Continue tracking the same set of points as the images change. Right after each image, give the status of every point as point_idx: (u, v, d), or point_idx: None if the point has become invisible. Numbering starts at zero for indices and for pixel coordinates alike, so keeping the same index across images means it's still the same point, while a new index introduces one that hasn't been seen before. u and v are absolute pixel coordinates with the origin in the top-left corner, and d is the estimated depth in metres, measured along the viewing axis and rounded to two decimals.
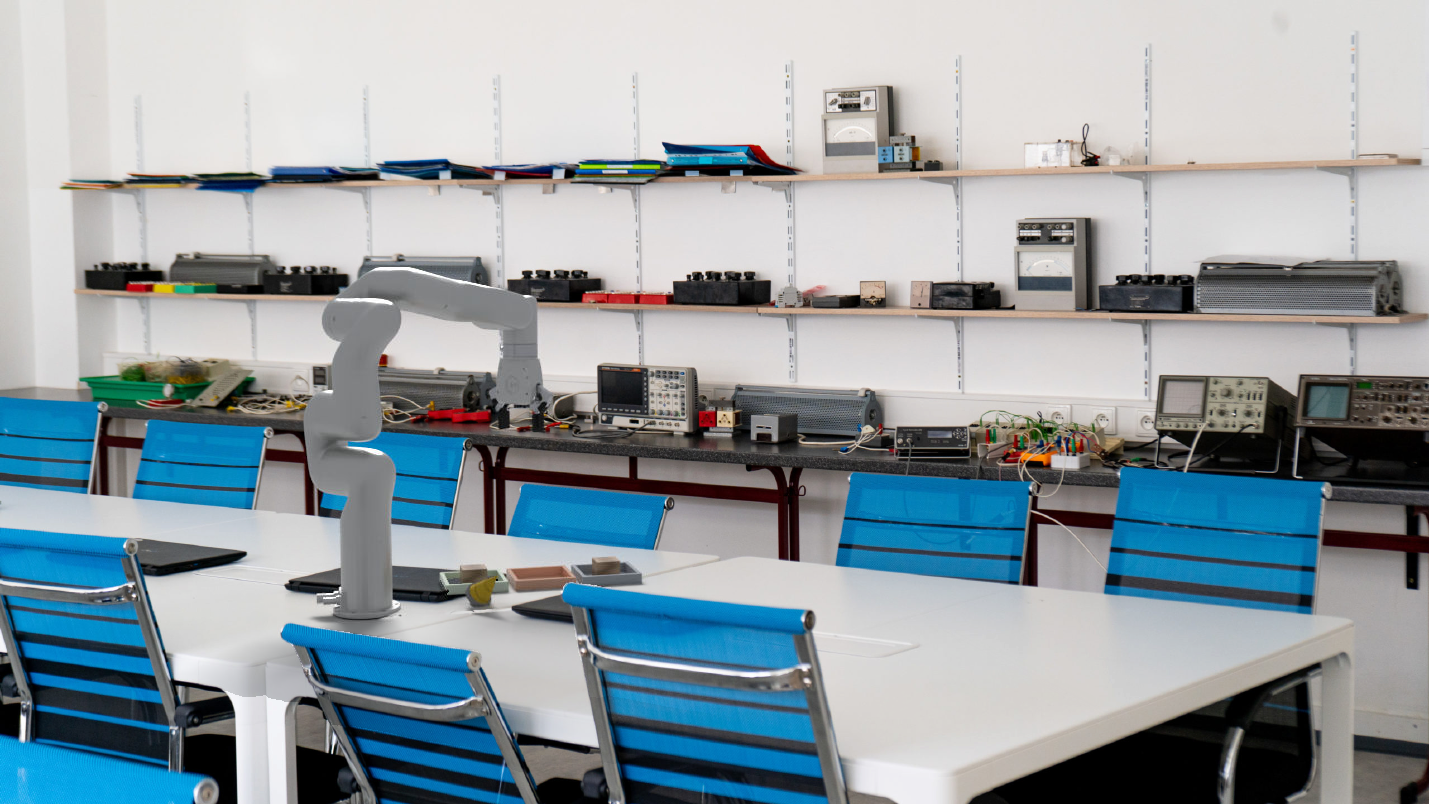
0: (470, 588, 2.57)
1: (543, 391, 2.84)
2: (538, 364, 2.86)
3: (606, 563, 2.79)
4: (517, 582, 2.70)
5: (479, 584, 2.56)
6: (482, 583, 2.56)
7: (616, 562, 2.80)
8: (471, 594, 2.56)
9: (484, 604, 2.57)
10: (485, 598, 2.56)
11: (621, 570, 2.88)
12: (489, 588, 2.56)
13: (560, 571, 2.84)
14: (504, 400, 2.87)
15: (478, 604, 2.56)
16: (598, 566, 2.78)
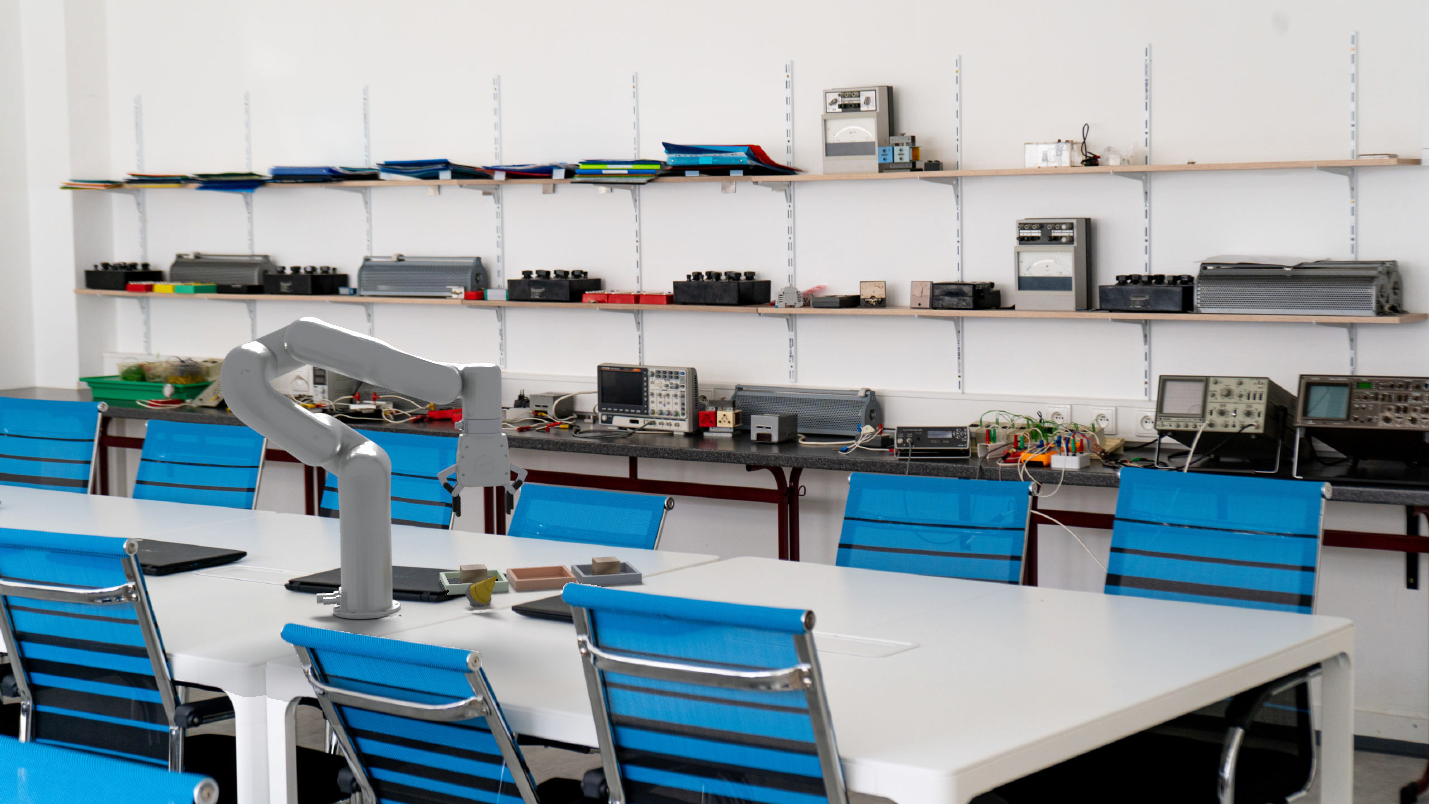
0: (470, 588, 2.57)
1: (518, 468, 2.58)
2: None
3: (606, 563, 2.79)
4: (517, 582, 2.70)
5: (479, 584, 2.56)
6: (482, 583, 2.56)
7: (616, 562, 2.80)
8: (471, 594, 2.56)
9: (484, 604, 2.57)
10: (485, 598, 2.56)
11: (621, 570, 2.88)
12: (489, 588, 2.56)
13: (560, 571, 2.84)
14: (473, 483, 2.53)
15: (478, 604, 2.56)
16: (598, 566, 2.78)
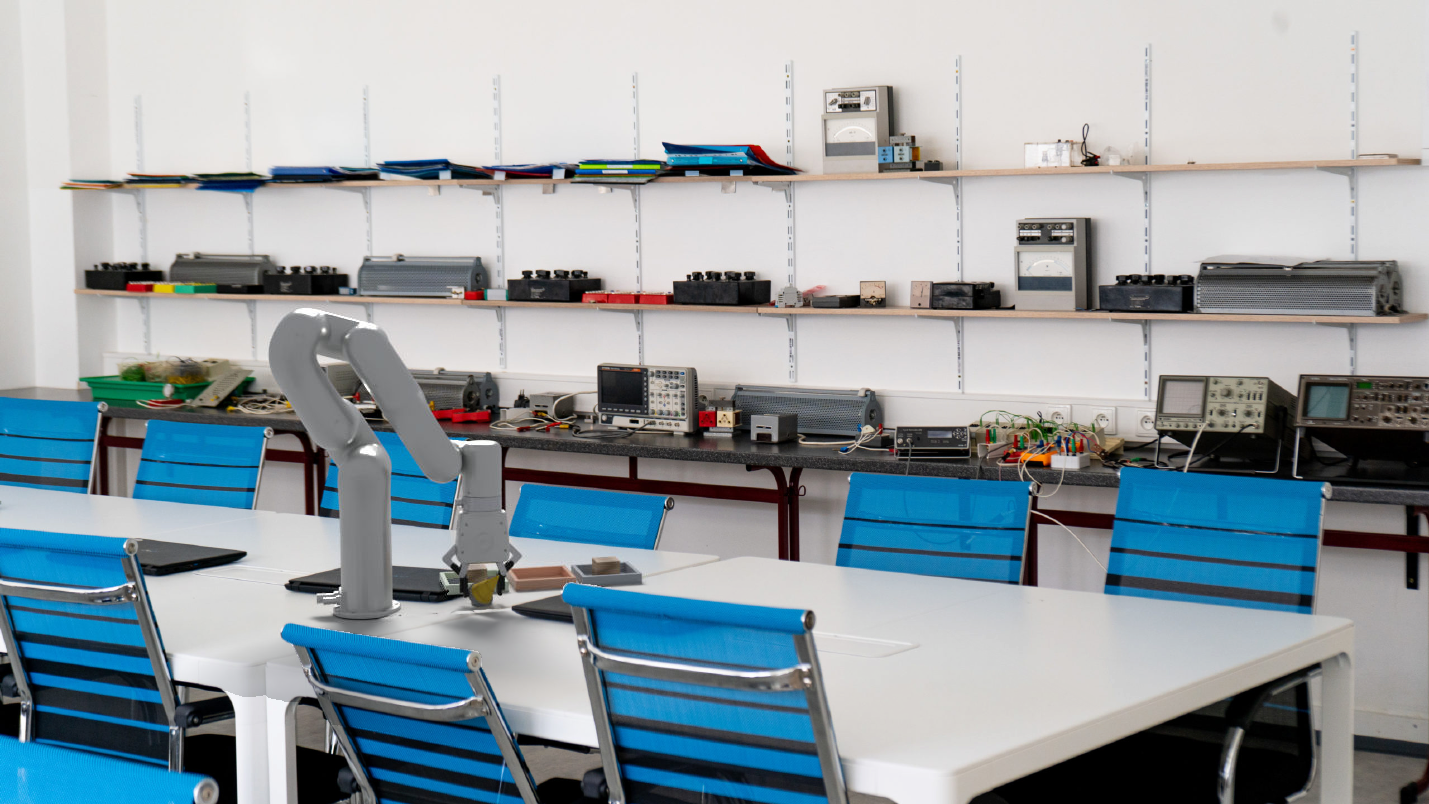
0: (472, 588, 2.57)
1: (514, 550, 2.59)
2: None
3: (606, 563, 2.79)
4: (517, 582, 2.70)
5: (481, 584, 2.56)
6: (484, 583, 2.56)
7: (616, 562, 2.80)
8: (473, 594, 2.56)
9: (486, 604, 2.57)
10: (487, 598, 2.56)
11: (621, 570, 2.88)
12: (490, 588, 2.56)
13: (560, 571, 2.84)
14: (473, 561, 2.54)
15: (480, 604, 2.56)
16: (598, 566, 2.78)
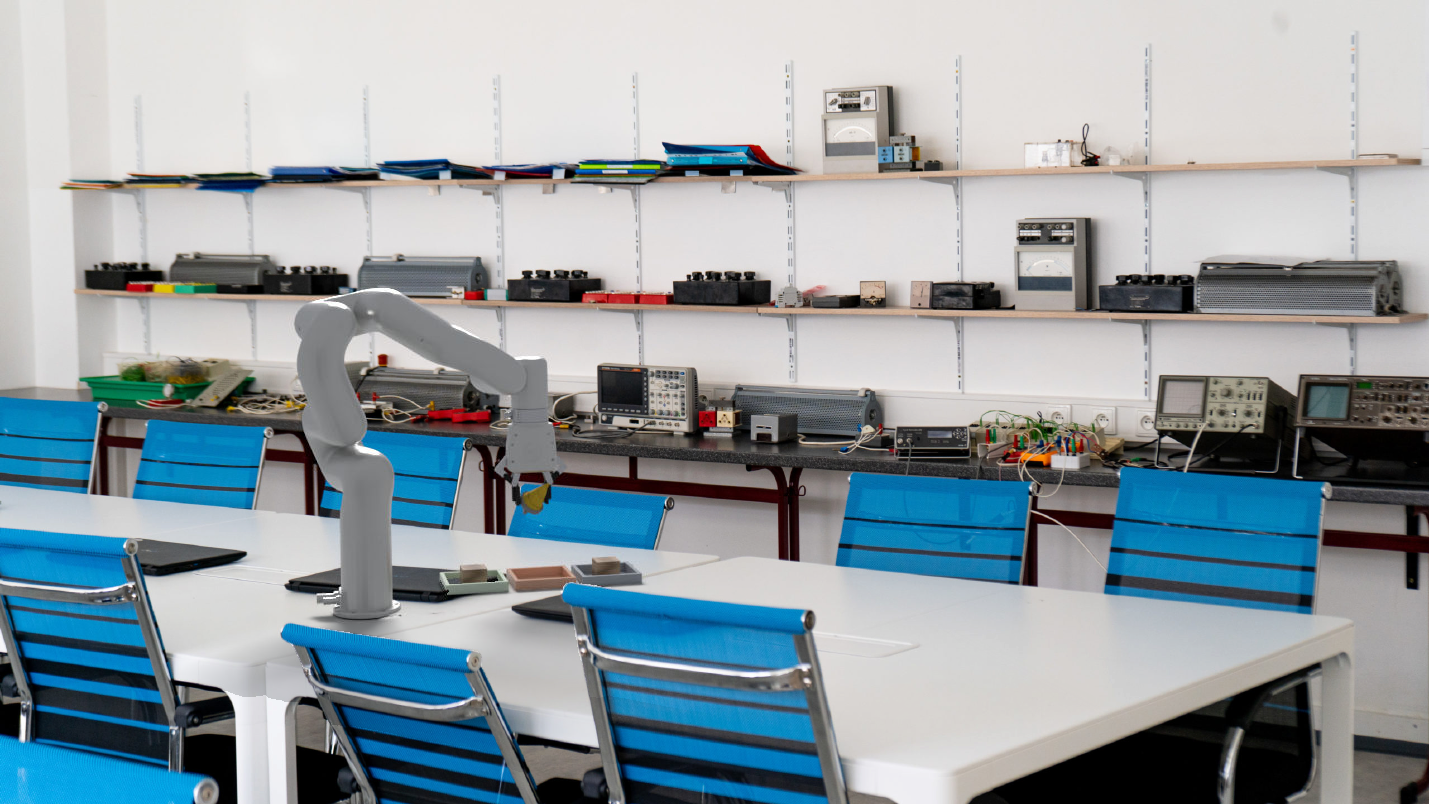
0: (523, 496, 2.72)
1: (560, 461, 2.73)
2: None
3: (606, 563, 2.79)
4: (517, 582, 2.70)
5: (532, 491, 2.71)
6: (535, 490, 2.71)
7: (616, 562, 2.80)
8: (524, 501, 2.71)
9: (537, 510, 2.72)
10: (538, 505, 2.71)
11: (621, 570, 2.88)
12: (541, 495, 2.70)
13: (560, 571, 2.84)
14: (522, 470, 2.69)
15: (531, 510, 2.71)
16: (598, 566, 2.78)
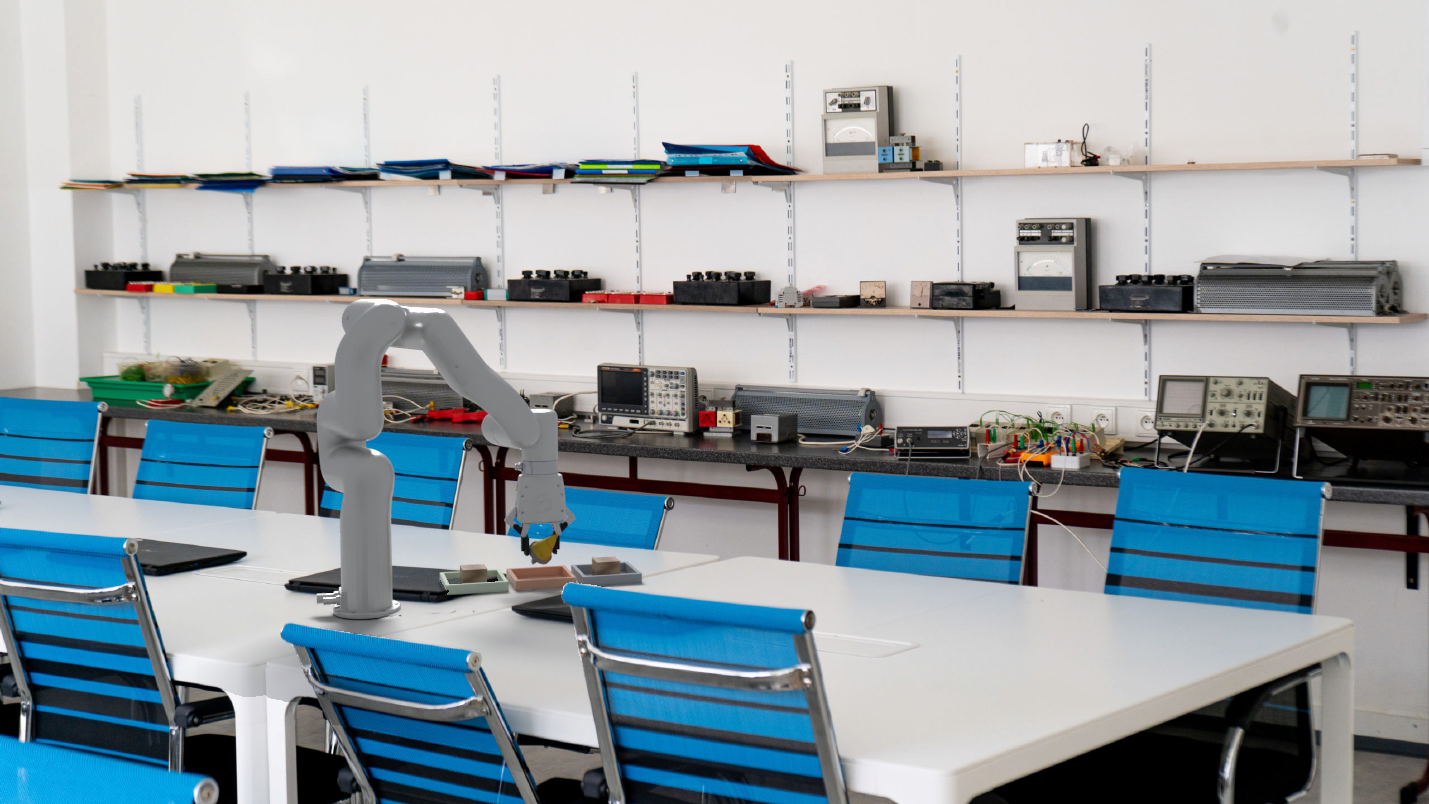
0: (532, 546, 2.76)
1: (569, 512, 2.78)
2: None
3: (606, 563, 2.79)
4: (517, 582, 2.70)
5: (541, 542, 2.75)
6: (544, 541, 2.75)
7: (616, 562, 2.80)
8: (533, 551, 2.75)
9: (545, 561, 2.76)
10: (546, 555, 2.76)
11: (621, 570, 2.88)
12: (550, 546, 2.75)
13: (560, 571, 2.84)
14: (532, 520, 2.73)
15: (540, 560, 2.75)
16: (598, 566, 2.78)
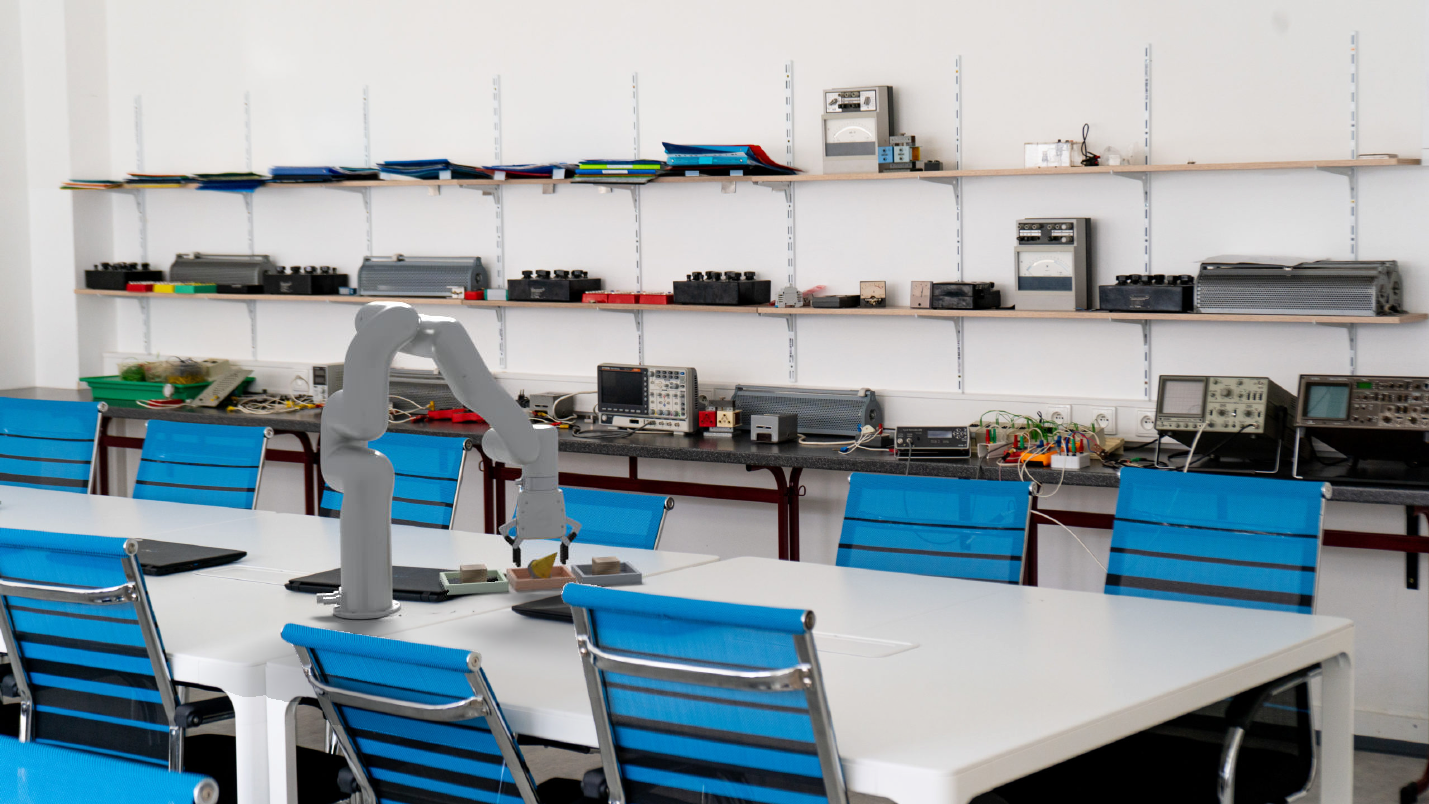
0: (532, 564, 2.76)
1: (573, 521, 2.78)
2: None
3: (606, 563, 2.79)
4: (517, 582, 2.70)
5: (540, 560, 2.76)
6: (543, 559, 2.75)
7: (616, 562, 2.80)
8: (533, 570, 2.75)
9: None
10: (546, 573, 2.76)
11: (621, 570, 2.88)
12: (549, 564, 2.75)
13: (560, 571, 2.84)
14: (532, 536, 2.73)
15: None
16: (598, 566, 2.78)
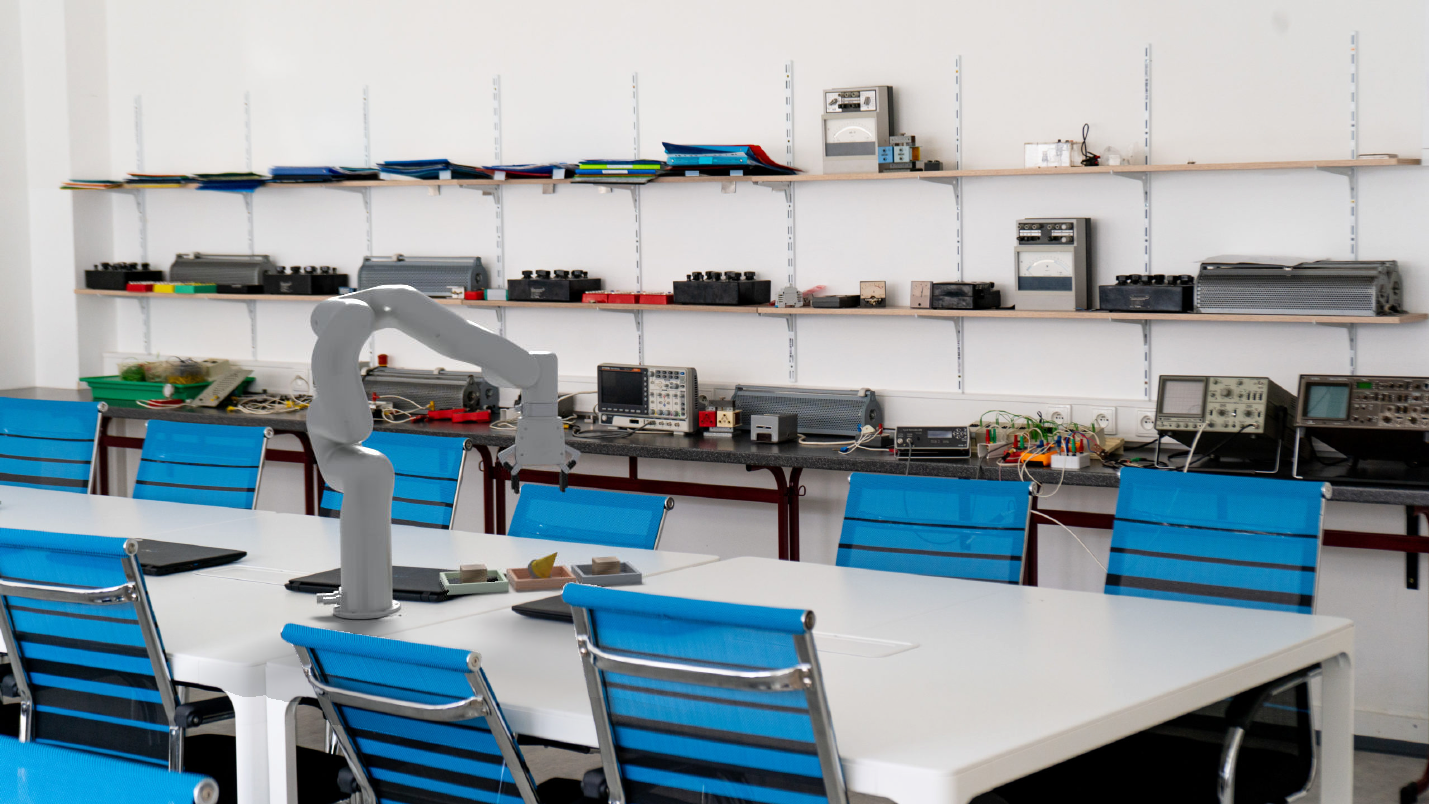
0: (532, 564, 2.76)
1: (572, 449, 2.77)
2: None
3: (606, 563, 2.79)
4: (517, 582, 2.70)
5: (540, 560, 2.76)
6: (543, 559, 2.75)
7: (616, 562, 2.80)
8: (533, 570, 2.75)
9: None
10: (546, 573, 2.76)
11: (621, 570, 2.88)
12: (549, 564, 2.75)
13: (560, 571, 2.84)
14: (531, 463, 2.72)
15: None
16: (598, 566, 2.78)
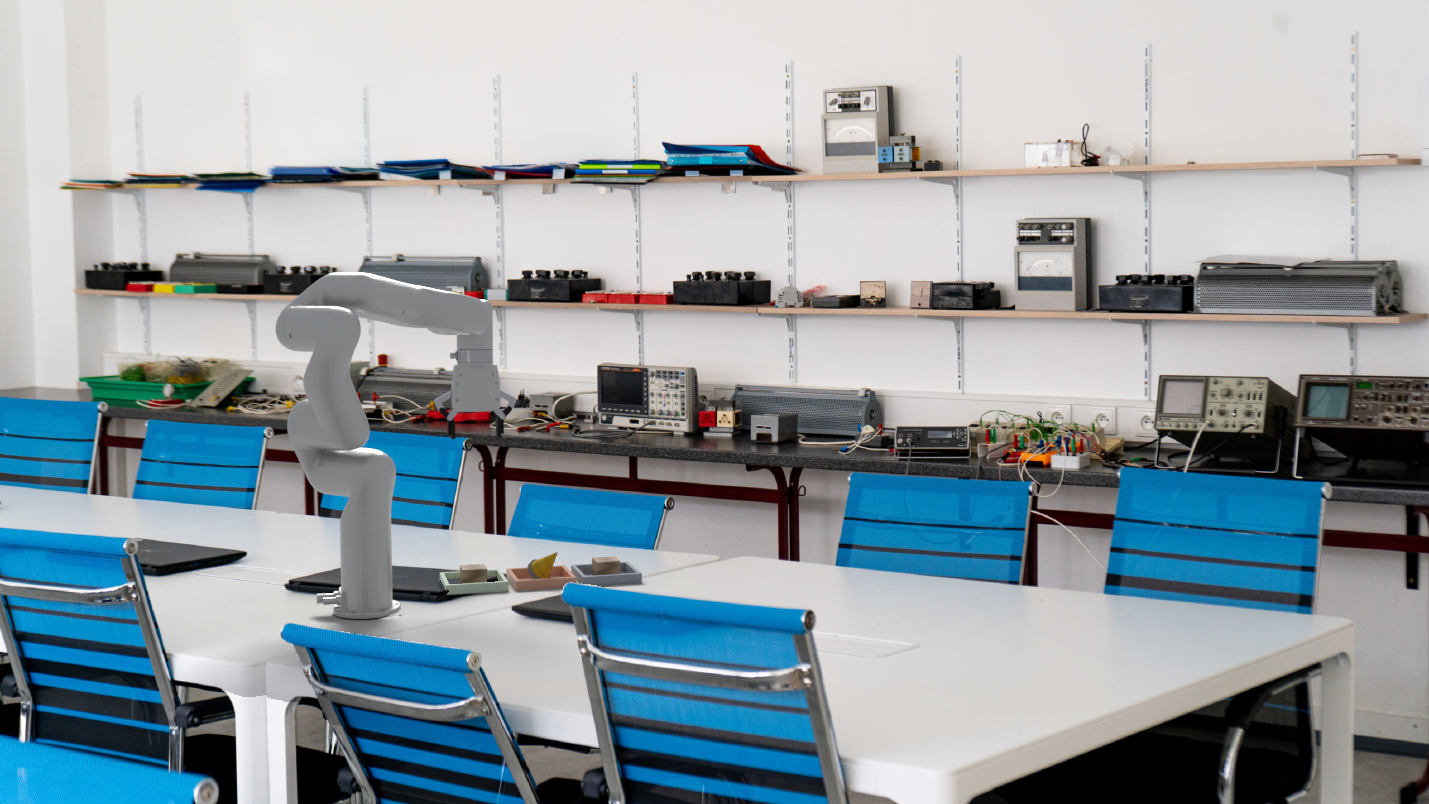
0: (532, 564, 2.76)
1: (508, 396, 2.82)
2: None
3: (606, 563, 2.79)
4: (517, 582, 2.70)
5: (540, 560, 2.76)
6: (543, 559, 2.75)
7: (616, 562, 2.80)
8: (533, 570, 2.75)
9: None
10: (546, 573, 2.76)
11: (621, 570, 2.88)
12: (549, 564, 2.75)
13: (560, 571, 2.84)
14: (467, 408, 2.77)
15: None
16: (598, 566, 2.78)
